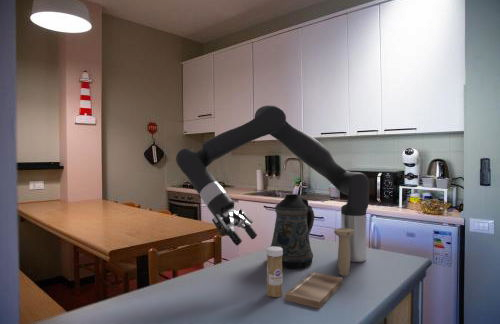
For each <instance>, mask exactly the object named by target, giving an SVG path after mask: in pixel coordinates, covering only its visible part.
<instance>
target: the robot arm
mask: <svg viewBox="0 0 500 324" xmlns="http://www.w3.org/2000/svg"><path fill="white" fill-rule="evenodd" d="M268 135H269V136H271V137H272V138H275V139H276V140H277V141H278V142H280V143H281V144H282V145H284V146H285V147H286V149H288V150H289V151H290V152H291V153H292V154H293V155H295V157H297V158H298V159H299V160H301V162H303V163H304V164H306V165H307V166H308V167H309V168H311V169H313V171H315V172H317V173H318V174H319V175H321V176H322V177H324V178H325V179H326V180H327V181H328V182H330V184H332V186H334V187H335V188H336V189H337V190H338V191H339V192H340V193H342V194H343V195H346V196H347V202H346V203H345V204H344V205H342V206H341V208H340V211H341V213H340V223H341V224H340V228H350V229H353V230H354V234H353V235H351V236H350V237H349V246H350V263H351V262H352V263H361V262H365V261H366V260H367V210H368V208H369V204H370V202H369V201H370V182H369V178H368V176H367V175H366V174H365V173H362V172H356V171H349V170H347V169H345V168H344V167H342V166H341V165H340V164H338V163H337V162H336V161H335V159H334V158H333V156H332V154H331V153H330V151H329V149H328V148H327V147H326V146H325V145H324V144H322V143H321V142H320V141H318V140H317V139H316V138H315V137H313V136H312V135H310V134H308V133H307V132H304V131H303V130H301V129H298V128H297V127H295V126H293V125H292V124H291V123H290V122H289V121H288V120H287V115H286V113H285V111H284V110H283V108H281V107H279V106H276V105H264V106H261V107H259V108H258V109H256V111H255V113H254V118H253V119H251V120H250V121H248V122H246V123H244V124H242V125H240V126H237V127H235V128H231V129H229V130H227V131H224V132H221V133H219V134H217V135H215V136H213V137H211V138H210V139H207V140H206V141H204V142H203V143H202V144H201V149H199V150H198V151H197V152H195V151H194V150H193V149H190V148H189V147H188V148H182V149H180V150H179V151H178V152H177V154H176V156H175V161H176V165H177V166H178V168H179V169H180V171H181V172H182V173H183V174H184V175H185V176H186V177H187V179H188V180H189V181H190V183H191V185H192V187H193V188H194V190H195V191H196V193H197V194H198V195H199V196H200V198H201V200H202V202H203V203H204V204H205V206H206V207H207V209H208V211H210V213H211V214H212V215H213V218H212V219H211V221H212V223H213V225H215V228H216V229H217V230H218V232H219V233H220V235H221V236H227V237H228V238H229V239H230V240H231V241H232V243H233V244H235V246H237V247H238V246H239V245H241V244H242V242H243V239H241V237H240V236H239V234H238V233H237V232H236V231H235V229H234V227H237V228H241V229H243V230H244V231H245V232H246V234H247V236H249V238H250V240H254V239H256V238H257V236H258V234H257V232H256V230H255V229H254V228H253V227H252V223H254V221H253V219H251V218H250V217H249V215H248V214H247V213H246V211H245V210H244V209H243V208H240V209H238V210H237V209H236V208H235V202H234V200H233V199H232V198H231V197H230V195H229V194H228V192H227V191H226V190H225V189H224V187H223V186H222V185H221V184H220V183H219V182H218V181H217V179H216V178H215V177H214V176H213V174H212V173H211V172H210V171H209V170H208V169H207V167H209V166H210V165H211V164H212V163H213V162H214V161H216V160H218V159H220V158H222V157H224V156H226V155H227V154H229V153H231V152H233V151H235V150H236V149H238V148H240V147H243V146H244V145H246V144H249V143H250V142H252V141H256V140H257V139H259V138H262V137H265V136H268Z"/></svg>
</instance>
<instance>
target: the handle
mask: <svg viewBox="0 0 500 324" xmlns="http://www.w3.org/2000/svg"><path fill="white" fill-rule="evenodd" d="M333 232H334V235H336V236H338V248H337V249H338V251H337V266H338V273H339V275H340V276H344V277H347V276H348V275H350V268H351V261H350V246H349V237H350V236H351V235H353V234H354V230H353V229H350V228H341V227H339V228H335V229H334V230H333Z"/></svg>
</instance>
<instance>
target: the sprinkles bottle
mask: <svg viewBox="0 0 500 324" xmlns="http://www.w3.org/2000/svg"><path fill="white" fill-rule="evenodd" d="M282 255H283V249H282V248H281V247H277V246H272V247H271V246H268V247H267V248H266V257H267V258H266V259H267V261H266V262H267V264H266V284H267V285H266V287H267V289H266V290H267V291H266V294H267V296H269V297H272V298H279V297H282V296H283V269H282Z"/></svg>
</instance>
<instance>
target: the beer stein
mask: <svg viewBox="0 0 500 324" xmlns="http://www.w3.org/2000/svg"><path fill="white" fill-rule="evenodd" d="M274 211H275V213H276V214H275V215H276V218H275V222H274V228H273V236H272V240H271V244H270V247H272V246H277V247H281V248H282V249H283V255H282V270H299V269H306V268H308V267H311V266H312V263H313V258H314V254H313V251H312V248H311V243H310V233H311V232H312V229H313V226H314V221H315V212H314V210H313V207H312V206H311V205H309V201H308V199H306V198H303V197H300V196H299V194H286V195H285V197H284V198H283V199H282V200H281V201H280V202H278V203H277V204H276V205H275V206H274Z"/></svg>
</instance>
